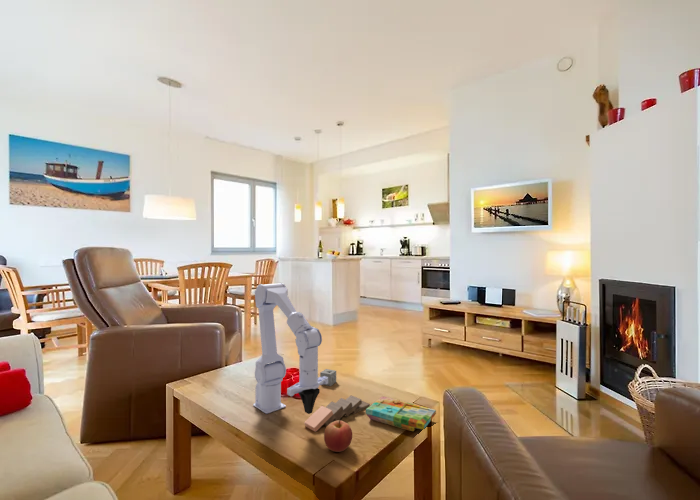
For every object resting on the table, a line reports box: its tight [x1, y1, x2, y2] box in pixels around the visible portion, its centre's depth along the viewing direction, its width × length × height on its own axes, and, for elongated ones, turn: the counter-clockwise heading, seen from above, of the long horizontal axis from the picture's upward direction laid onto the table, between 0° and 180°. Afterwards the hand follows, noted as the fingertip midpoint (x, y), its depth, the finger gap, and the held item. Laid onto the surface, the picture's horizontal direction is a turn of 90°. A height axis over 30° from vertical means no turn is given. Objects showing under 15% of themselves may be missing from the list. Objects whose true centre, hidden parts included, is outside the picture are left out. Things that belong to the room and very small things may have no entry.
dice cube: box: [319, 368, 337, 387], centre depth 145 cm, size 5×5×5 cm
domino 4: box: [343, 395, 363, 418], centre depth 119 cm, size 2×5×8 cm
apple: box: [323, 419, 353, 453], centre depth 96 cm, size 8×8×8 cm
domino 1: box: [303, 405, 333, 433], centre depth 109 cm, size 2×5×8 cm
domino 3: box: [332, 397, 352, 422], centre depth 116 cm, size 2×5×8 cm
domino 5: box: [351, 400, 371, 415], centre depth 122 cm, size 2×5×8 cm
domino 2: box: [322, 401, 343, 428], centre depth 113 cm, size 2×5×8 cm
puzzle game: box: [365, 396, 437, 432], centre depth 112 cm, size 12×5×20 cm
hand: (308, 412), depth 106 cm, fingers closed
